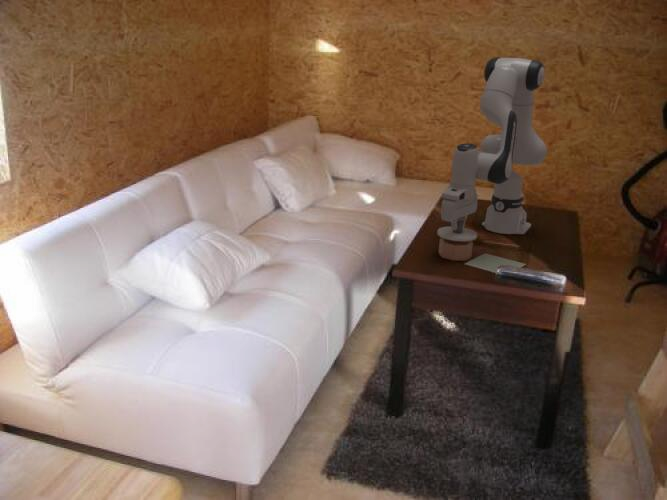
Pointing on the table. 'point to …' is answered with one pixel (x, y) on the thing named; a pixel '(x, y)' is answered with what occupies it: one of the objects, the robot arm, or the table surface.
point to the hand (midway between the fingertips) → (457, 228)
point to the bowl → (455, 249)
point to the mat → (492, 262)
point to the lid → (457, 233)
